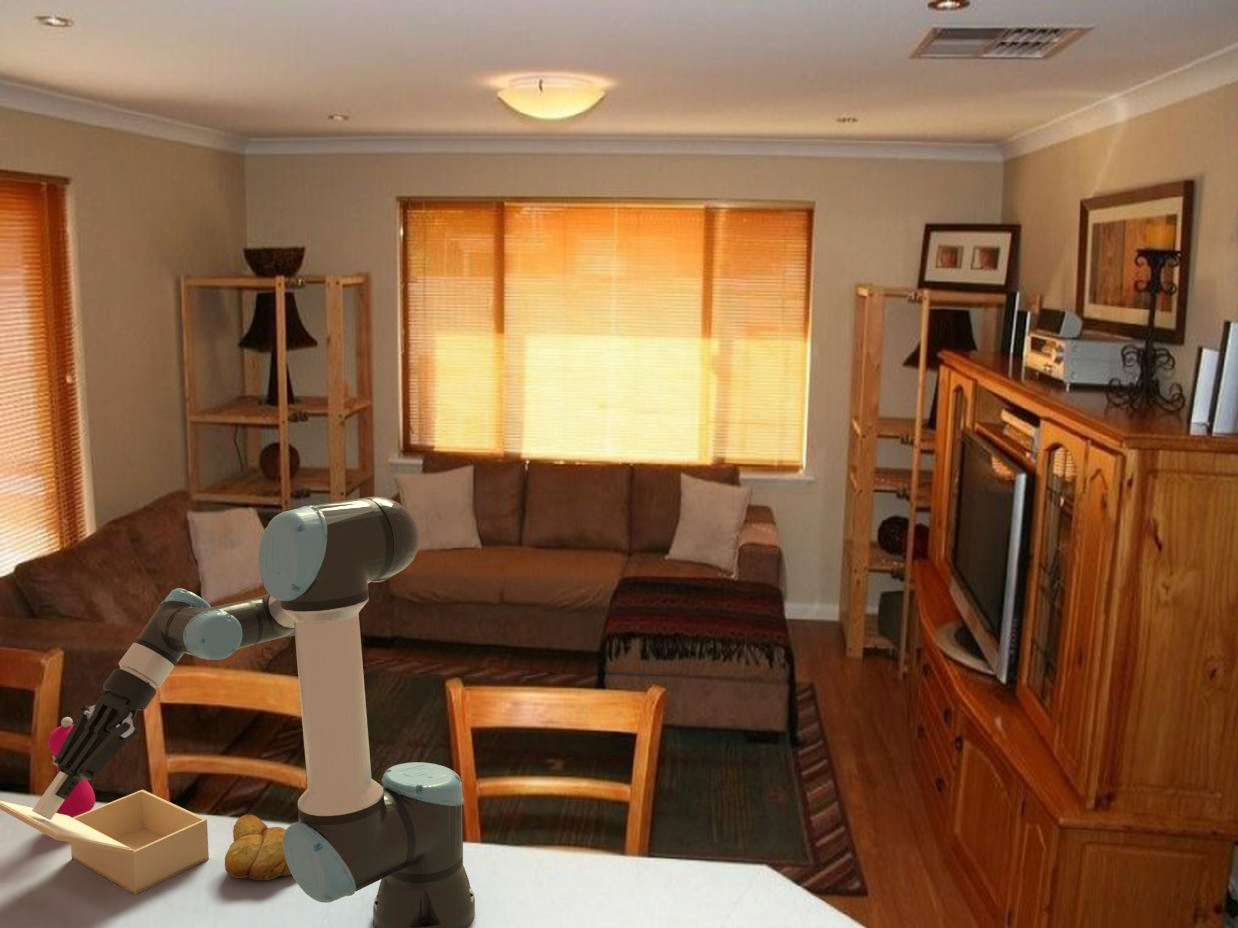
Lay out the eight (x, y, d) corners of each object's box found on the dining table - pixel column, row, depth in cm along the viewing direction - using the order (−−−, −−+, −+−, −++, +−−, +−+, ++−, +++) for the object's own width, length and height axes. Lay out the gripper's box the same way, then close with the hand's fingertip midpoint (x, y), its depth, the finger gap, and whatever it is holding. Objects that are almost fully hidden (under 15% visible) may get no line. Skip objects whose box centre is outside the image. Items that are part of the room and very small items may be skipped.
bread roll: (316, 860, 179) (315, 815, 177) (288, 892, 169) (287, 844, 168) (244, 852, 181) (242, 807, 180) (212, 883, 171) (210, 836, 170)
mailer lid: (57, 834, 156) (55, 839, 155) (134, 849, 166) (132, 854, 166) (-9, 798, 166) (-11, 803, 166) (68, 814, 177) (66, 819, 176)
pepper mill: (105, 818, 191) (99, 711, 188) (78, 838, 184) (71, 727, 181) (69, 814, 192) (61, 707, 189) (40, 834, 185) (32, 723, 182)
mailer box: (208, 858, 178) (207, 819, 177) (135, 894, 168) (133, 852, 167) (144, 827, 188) (142, 789, 187) (71, 858, 178) (69, 818, 176)
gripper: (177, 698, 173) (83, 837, 162) (130, 680, 180) (36, 812, 169) (145, 675, 168) (45, 818, 157) (98, 658, 175) (-1, 793, 164)
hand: (41, 815), depth 163 cm, fingers closed
